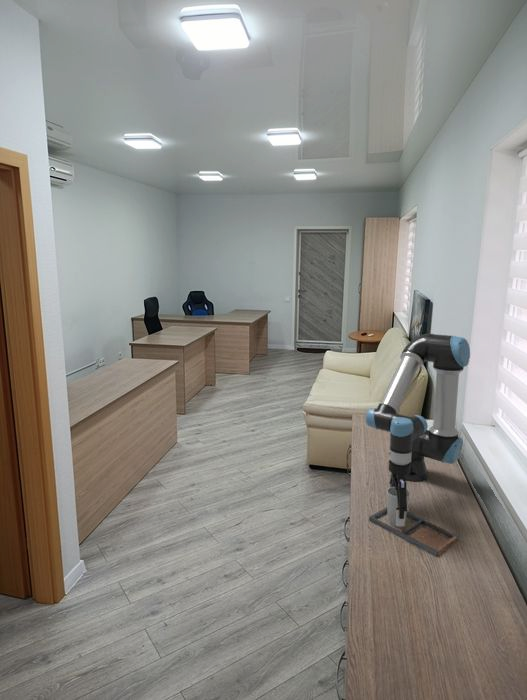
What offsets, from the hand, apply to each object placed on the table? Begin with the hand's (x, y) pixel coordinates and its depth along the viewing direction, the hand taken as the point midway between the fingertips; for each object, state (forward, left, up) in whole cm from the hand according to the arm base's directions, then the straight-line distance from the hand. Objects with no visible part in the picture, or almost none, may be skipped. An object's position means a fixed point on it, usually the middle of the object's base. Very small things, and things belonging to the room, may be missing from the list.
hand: (396, 515), depth 164 cm
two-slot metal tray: (0, +6, -3) cm, 7 cm away
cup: (0, 0, -3) cm, 3 cm away
